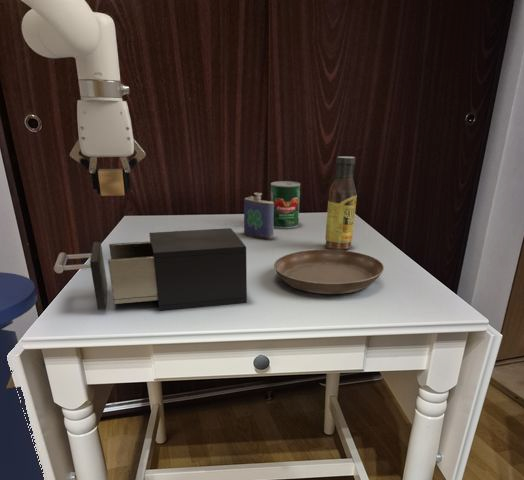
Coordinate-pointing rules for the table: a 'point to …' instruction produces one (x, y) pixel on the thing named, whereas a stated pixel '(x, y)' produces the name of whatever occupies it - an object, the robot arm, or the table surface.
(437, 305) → the table surface
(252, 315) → the table surface
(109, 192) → the block
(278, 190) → the canned tomato
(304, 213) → the table surface
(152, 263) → the drawer
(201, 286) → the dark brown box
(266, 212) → the flask
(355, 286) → the plant saucer
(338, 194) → the sauce bottle
